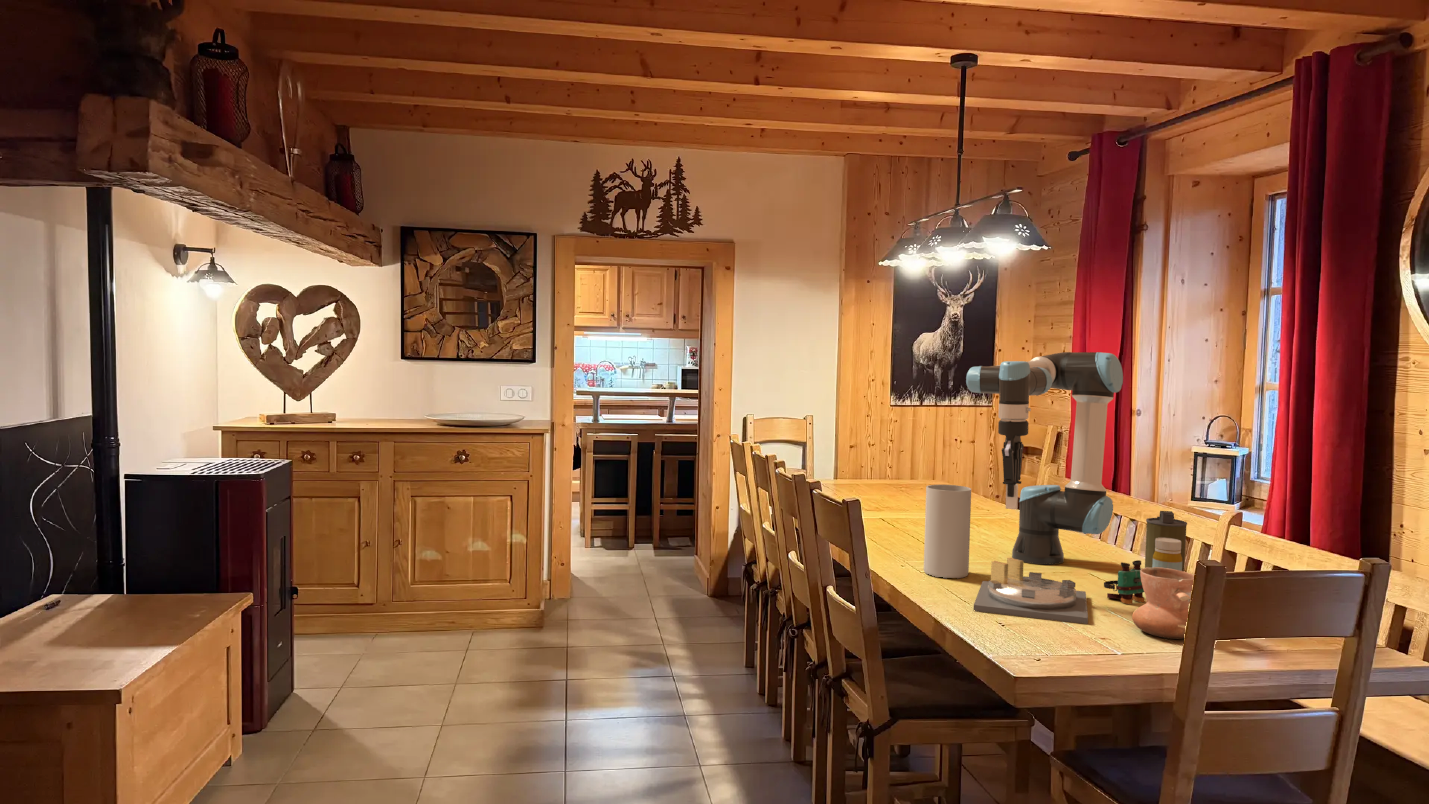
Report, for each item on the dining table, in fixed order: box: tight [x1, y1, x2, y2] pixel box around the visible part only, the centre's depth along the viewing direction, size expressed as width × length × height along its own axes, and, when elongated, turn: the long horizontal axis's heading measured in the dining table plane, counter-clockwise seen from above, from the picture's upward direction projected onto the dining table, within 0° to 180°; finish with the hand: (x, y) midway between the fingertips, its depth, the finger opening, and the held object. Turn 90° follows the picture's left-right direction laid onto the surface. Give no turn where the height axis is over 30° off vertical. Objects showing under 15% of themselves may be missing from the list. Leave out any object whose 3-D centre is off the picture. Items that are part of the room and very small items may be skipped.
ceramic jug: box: [1131, 567, 1195, 640], centre depth 206 cm, size 18×14×14 cm
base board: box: [973, 580, 1089, 625], centre depth 229 cm, size 26×26×2 cm
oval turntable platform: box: [988, 557, 1077, 610], centre depth 229 cm, size 21×21×8 cm
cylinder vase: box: [923, 484, 972, 579], centre depth 258 cm, size 12×12×25 cm
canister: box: [1144, 510, 1188, 572], centre depth 254 cm, size 11×10×20 cm
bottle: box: [1152, 538, 1182, 571], centre depth 239 cm, size 7×7×15 cm
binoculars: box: [1103, 559, 1146, 605], centre depth 235 cm, size 9×11×10 cm
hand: (1011, 508), depth 238 cm, fingers closed
